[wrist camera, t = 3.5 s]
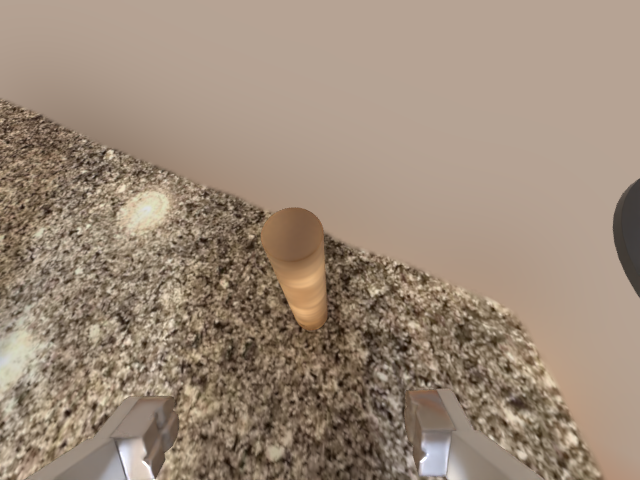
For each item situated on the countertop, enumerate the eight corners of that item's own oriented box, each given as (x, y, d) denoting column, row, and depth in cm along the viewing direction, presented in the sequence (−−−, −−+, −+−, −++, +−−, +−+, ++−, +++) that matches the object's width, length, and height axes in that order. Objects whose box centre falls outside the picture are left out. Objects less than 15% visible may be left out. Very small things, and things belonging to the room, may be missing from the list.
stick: (325, 296, 26) (320, 203, 14) (329, 328, 25) (327, 257, 12) (294, 300, 26) (260, 210, 14) (296, 332, 25) (260, 265, 12)
